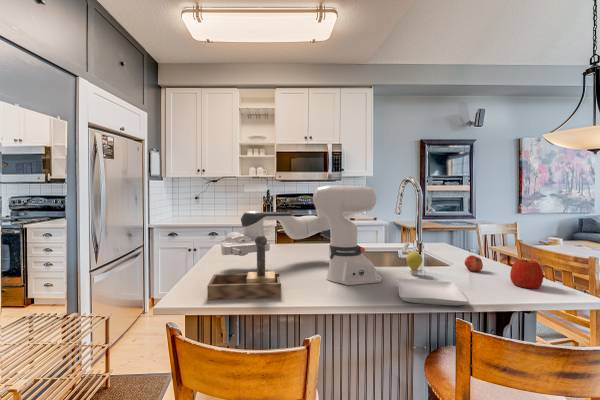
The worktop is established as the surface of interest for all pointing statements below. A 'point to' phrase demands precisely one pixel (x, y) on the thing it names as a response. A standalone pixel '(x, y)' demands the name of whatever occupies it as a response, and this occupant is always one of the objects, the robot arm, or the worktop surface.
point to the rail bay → (241, 288)
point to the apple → (526, 274)
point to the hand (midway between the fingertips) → (250, 251)
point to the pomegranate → (473, 263)
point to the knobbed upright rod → (261, 265)
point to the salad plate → (430, 292)
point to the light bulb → (414, 262)
